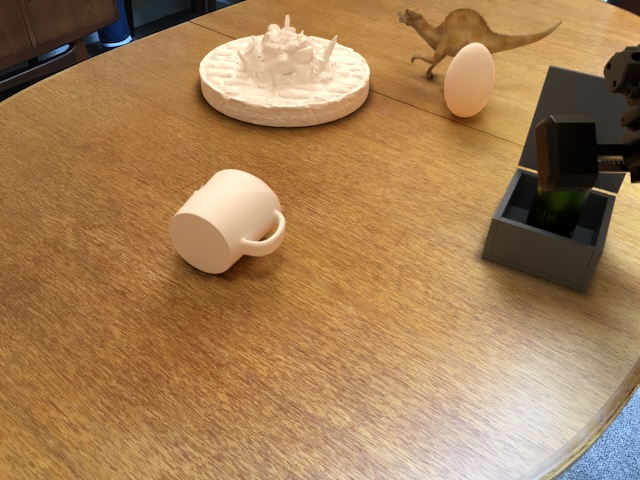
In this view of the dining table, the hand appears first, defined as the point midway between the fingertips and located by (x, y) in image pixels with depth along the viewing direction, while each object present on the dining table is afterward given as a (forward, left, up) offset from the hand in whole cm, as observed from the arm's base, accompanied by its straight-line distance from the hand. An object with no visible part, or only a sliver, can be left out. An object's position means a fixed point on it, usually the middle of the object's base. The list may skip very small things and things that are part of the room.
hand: (594, 172), depth 59 cm
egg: (+20, -30, -14) cm, 38 cm away
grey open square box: (+2, -4, -13) cm, 14 cm away
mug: (+33, +15, -14) cm, 39 cm away
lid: (+2, -10, -1) cm, 10 cm away
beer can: (+2, -4, -13) cm, 13 cm away
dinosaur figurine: (+23, -40, -14) cm, 48 cm away
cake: (+49, -24, -14) cm, 56 cm away
